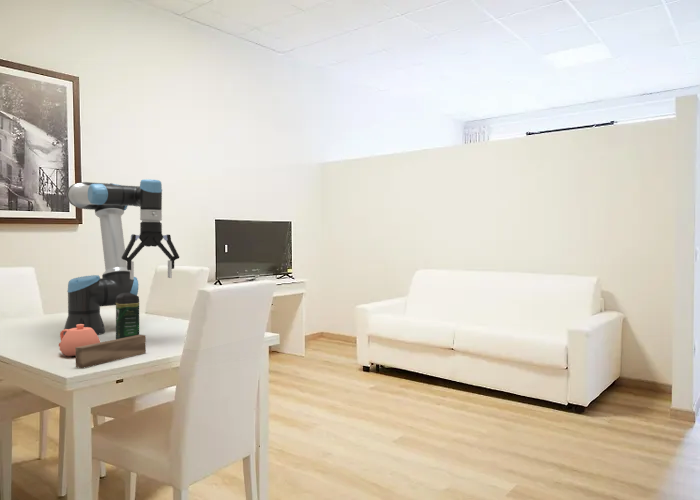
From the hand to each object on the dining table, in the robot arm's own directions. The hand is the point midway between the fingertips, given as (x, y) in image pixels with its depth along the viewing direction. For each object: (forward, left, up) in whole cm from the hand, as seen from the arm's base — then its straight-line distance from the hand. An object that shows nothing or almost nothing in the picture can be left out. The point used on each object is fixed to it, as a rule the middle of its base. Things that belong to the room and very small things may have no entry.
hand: (151, 278), depth 201 cm
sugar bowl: (-6, -26, -24) cm, 36 cm away
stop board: (+11, -26, -24) cm, 37 cm away
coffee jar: (-8, -4, -24) cm, 26 cm away
